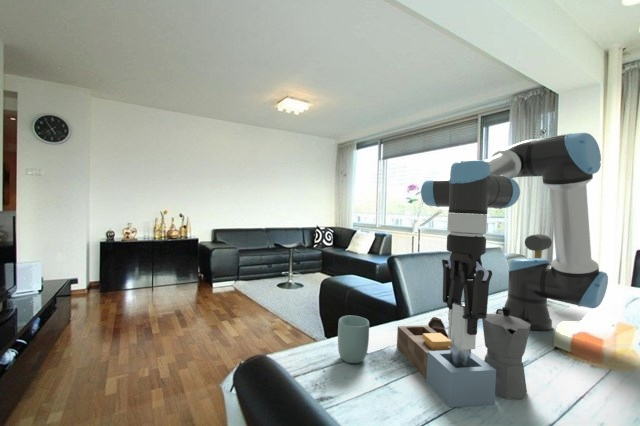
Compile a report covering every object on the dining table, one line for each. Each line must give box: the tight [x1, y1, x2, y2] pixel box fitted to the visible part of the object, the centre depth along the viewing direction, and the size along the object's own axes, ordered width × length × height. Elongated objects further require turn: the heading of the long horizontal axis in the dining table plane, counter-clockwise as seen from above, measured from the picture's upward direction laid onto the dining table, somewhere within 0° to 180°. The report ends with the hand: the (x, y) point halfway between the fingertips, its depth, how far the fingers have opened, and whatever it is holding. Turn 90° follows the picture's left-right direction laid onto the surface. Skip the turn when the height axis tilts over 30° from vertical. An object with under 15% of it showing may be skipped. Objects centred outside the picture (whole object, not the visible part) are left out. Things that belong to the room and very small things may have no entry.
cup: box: [337, 315, 370, 364], centre depth 79 cm, size 8×8×10 cm
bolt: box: [427, 316, 448, 338], centre depth 96 cm, size 6×5×15 cm
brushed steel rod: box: [450, 301, 472, 368], centre depth 66 cm, size 4×4×16 cm
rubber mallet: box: [524, 233, 552, 259], centre depth 141 cm, size 12×8×30 cm, turn 125°
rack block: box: [425, 350, 496, 408], centre depth 66 cm, size 10×9×7 cm
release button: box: [423, 333, 451, 350], centre depth 75 cm, size 5×5×7 cm
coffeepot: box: [481, 306, 531, 401], centre depth 70 cm, size 15×9×18 cm, turn 159°
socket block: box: [396, 324, 451, 380], centre depth 79 cm, size 9×16×6 cm, turn 10°
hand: (461, 343), depth 66 cm, fingers closed on brushed steel rod, 4 cm apart
